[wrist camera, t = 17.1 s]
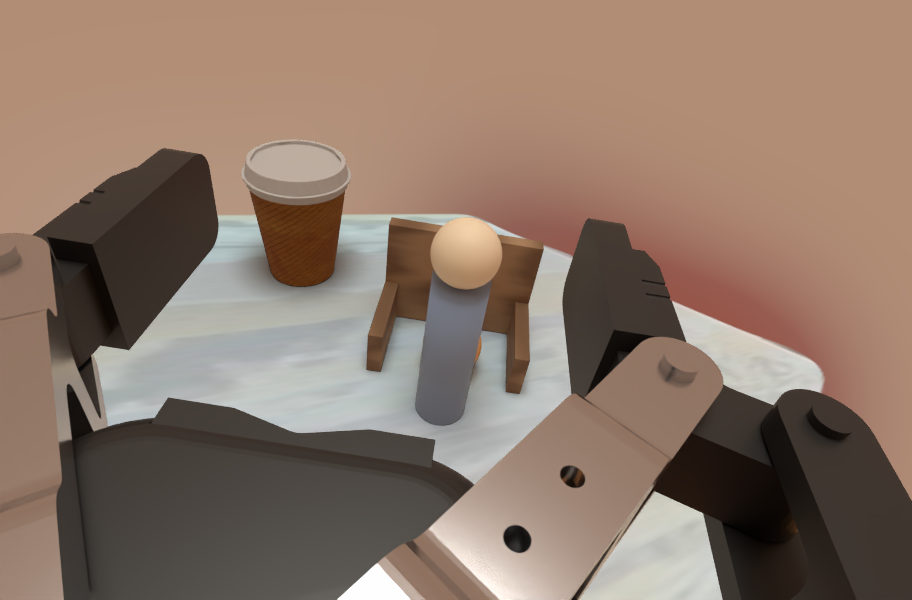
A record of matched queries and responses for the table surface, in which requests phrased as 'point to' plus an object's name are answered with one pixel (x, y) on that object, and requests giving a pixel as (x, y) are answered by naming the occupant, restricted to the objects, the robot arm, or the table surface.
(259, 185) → the disposable coffee cup
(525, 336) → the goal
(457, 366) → the player figure
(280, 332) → the table surface
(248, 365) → the table surface
